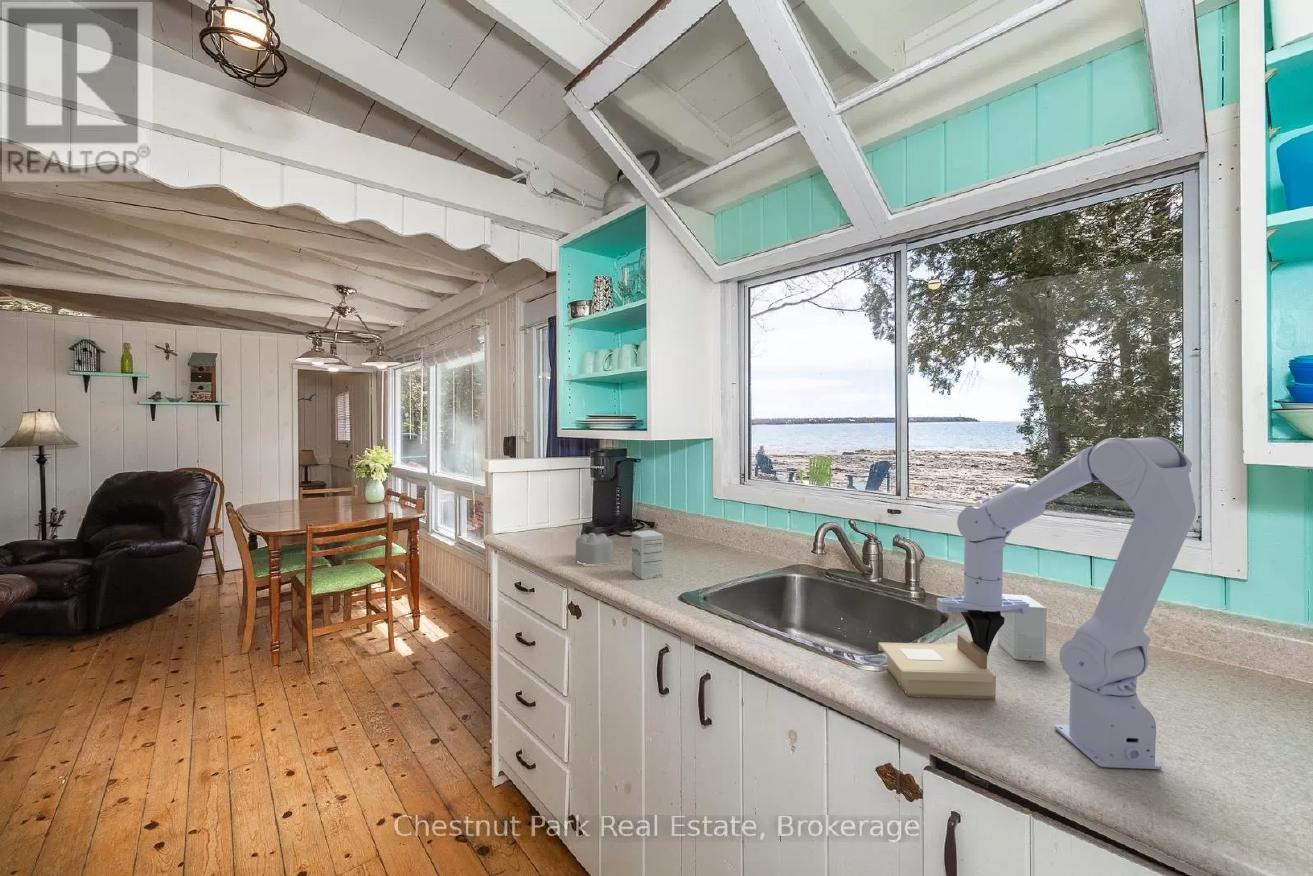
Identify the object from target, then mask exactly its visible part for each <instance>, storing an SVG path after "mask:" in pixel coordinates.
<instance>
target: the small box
mask: <svg viewBox="0 0 1313 876" xmlns="http://www.w3.org/2000/svg"><path fill="white" fill-rule="evenodd" d="M1002 598H1005V599H1014V600H1023V601H1025V602H1027V603H1029V615H1024V614H1021V613H1001V616H1003V617H1004V618H1005V620H1004V624H1003V625H1002V626H1001V628H1000V629H999V630H998V632H997V644H998V645H999V646H1000V647H1001V648H1002V649H1003V650H1004V651H1005V652H1006V653H1007V654H1008V655H1009V656H1010V657H1012V659H1014V660H1016V661H1017V660H1018V661H1035V662H1047V609H1048V608H1047V607H1046V606H1045V605H1043V604H1041V603H1040V602H1038V601H1037V600H1035V599H1034V598H1032V597H1031V596H1029V595H1028V594H1012V593H1011V594H1009V593H1002Z"/></svg>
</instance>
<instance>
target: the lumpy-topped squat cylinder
mask: <svg viewBox="0 0 1313 876" xmlns="http://www.w3.org/2000/svg"><path fill="white" fill-rule="evenodd" d="M613 543H614V542H613V539H612V538H610V537H608V536H607V534H606V533H600V534H598V535H596V533H594V532H589V533H588V534H587V533H583V534H581V535H580V536H578V537H576V539H575V561H576V560H577V561H579V562H581V563H586V564H600V563H610V562H612V561H613V560H614V557H613V556H614V555H613V553H614V549H613V547H614V546H613ZM613 562H614V561H613Z"/></svg>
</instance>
